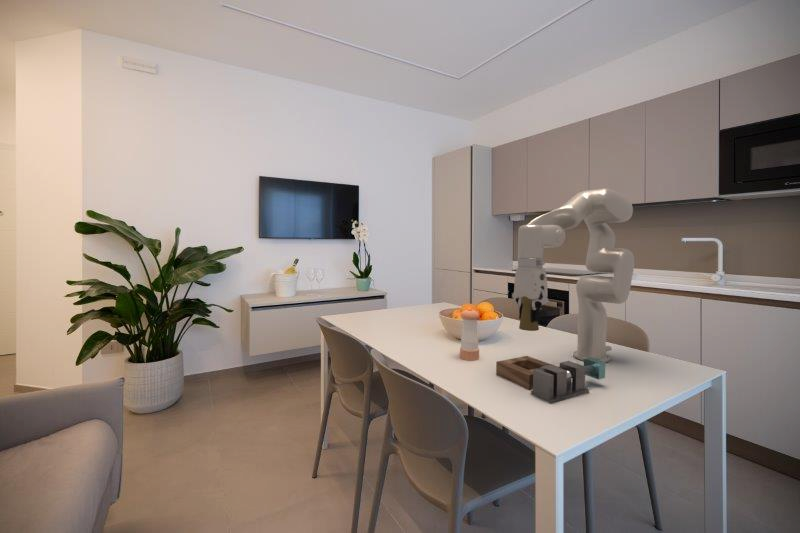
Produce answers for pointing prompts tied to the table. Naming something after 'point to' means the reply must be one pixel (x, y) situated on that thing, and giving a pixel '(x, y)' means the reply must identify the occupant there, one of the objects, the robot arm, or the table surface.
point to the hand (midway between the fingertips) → (529, 320)
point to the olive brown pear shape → (527, 316)
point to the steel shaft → (592, 368)
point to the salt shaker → (469, 335)
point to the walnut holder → (519, 370)
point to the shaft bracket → (559, 382)
